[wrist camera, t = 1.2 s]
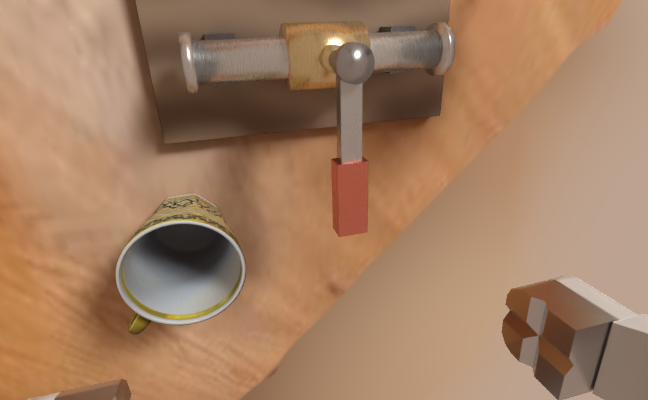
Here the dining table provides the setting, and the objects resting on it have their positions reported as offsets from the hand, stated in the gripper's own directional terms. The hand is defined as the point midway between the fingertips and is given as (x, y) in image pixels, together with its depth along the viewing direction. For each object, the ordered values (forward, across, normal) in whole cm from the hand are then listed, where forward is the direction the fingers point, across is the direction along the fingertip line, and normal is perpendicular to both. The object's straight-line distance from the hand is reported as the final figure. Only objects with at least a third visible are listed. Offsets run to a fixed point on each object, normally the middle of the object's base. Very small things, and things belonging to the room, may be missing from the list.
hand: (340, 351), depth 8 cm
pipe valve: (+31, -7, -5) cm, 32 cm away
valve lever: (+23, -8, +1) cm, 25 cm away
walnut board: (+33, -8, -5) cm, 34 cm away
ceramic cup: (+34, +7, +12) cm, 36 cm away
